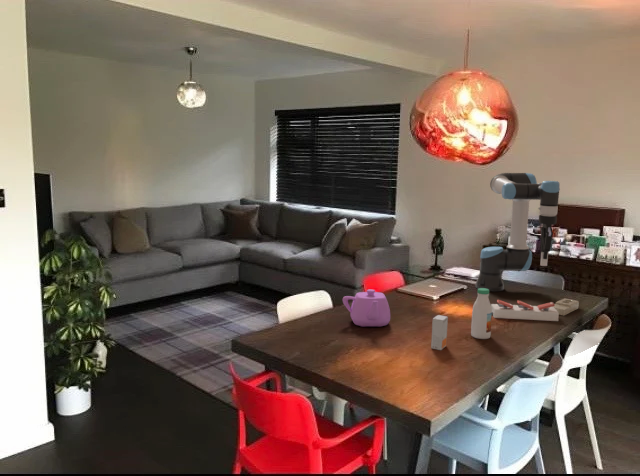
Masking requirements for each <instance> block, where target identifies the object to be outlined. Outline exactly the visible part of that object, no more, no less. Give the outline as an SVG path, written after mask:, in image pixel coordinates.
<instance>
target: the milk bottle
mask: <svg viewBox="0 0 640 476" xmlns="http://www.w3.org/2000/svg"><path fill="white" fill-rule="evenodd" d="M489 296H490V291H489V289H486V288H479V289H477V297H476V300H475V301H474V303H473V306H472V311H471V328H470V335H471V337H473V338H475V339H480V340H487V339H490V338H491V335H492V322H493V321H492V317H493V315H492V307H491V304H492V303H491V302H490V299H489Z"/></svg>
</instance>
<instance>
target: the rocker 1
mask: <svg viewBox="0 0 640 476" xmlns="http://www.w3.org/2000/svg"><path fill="white" fill-rule="evenodd" d="M496 302H497V304H502V305H504V306H507V307H510V308H513V305H514V304H511V303H509V302H506V301H503V300H501V299H497V300H496Z"/></svg>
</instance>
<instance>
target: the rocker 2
mask: <svg viewBox="0 0 640 476" xmlns="http://www.w3.org/2000/svg"><path fill="white" fill-rule="evenodd" d="M516 302H517V305H522V306H525V307H527V308H530V309H532V310H533V306H534V305H531V304H528V303H526V302H524V301H522V300H520V299H519V300H518V299H517V301H516Z"/></svg>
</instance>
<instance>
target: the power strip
mask: <svg viewBox="0 0 640 476" xmlns="http://www.w3.org/2000/svg"><path fill="white" fill-rule="evenodd" d="M490 304H491V307H492V317H493V318H495V319H509V320H510V319H514V320H531V321H533V320H534V321H546V322H547V321H548V322H549V321H551V322H559V312H558V311H557V310H556V309H555V308H554V307H549V308H545V309H541V310H539V309H538V307H537V306H538V305H532V306H533V310H532V309H530V308H527V307H525V306H522V305H520V304H512V305H513V308H510V307H507V306H504V305H502V304H499V303H490Z"/></svg>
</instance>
